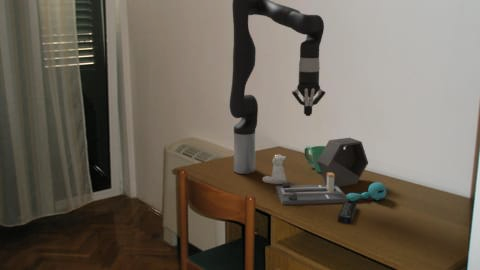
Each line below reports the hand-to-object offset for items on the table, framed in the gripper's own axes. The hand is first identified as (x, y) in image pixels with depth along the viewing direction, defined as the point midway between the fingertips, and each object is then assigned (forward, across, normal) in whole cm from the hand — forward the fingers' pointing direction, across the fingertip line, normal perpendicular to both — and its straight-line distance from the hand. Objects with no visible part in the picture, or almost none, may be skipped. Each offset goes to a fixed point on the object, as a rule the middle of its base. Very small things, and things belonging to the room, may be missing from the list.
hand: (307, 115), depth 190 cm
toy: (+29, -20, +14) cm, 38 cm away
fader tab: (+27, -7, +9) cm, 29 cm away
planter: (+29, -16, -5) cm, 34 cm away
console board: (+29, 0, +9) cm, 30 cm away
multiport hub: (+30, -9, +28) cm, 42 cm away
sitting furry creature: (+29, +10, -8) cm, 32 cm away
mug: (+29, -10, -23) cm, 38 cm away
